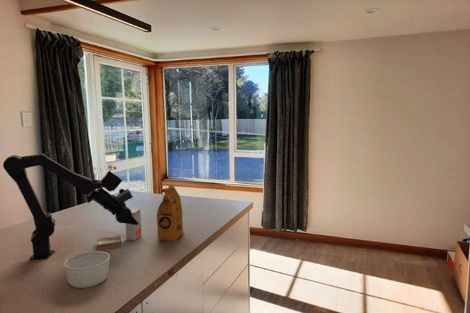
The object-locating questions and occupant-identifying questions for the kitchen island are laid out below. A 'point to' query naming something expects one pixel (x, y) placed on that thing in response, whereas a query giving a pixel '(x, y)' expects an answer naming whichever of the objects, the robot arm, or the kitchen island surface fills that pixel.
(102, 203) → the robot arm
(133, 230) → the skincare box
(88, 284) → the ramekin
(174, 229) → the coffee package
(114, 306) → the kitchen island surface
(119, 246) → the plinth
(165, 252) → the kitchen island surface
